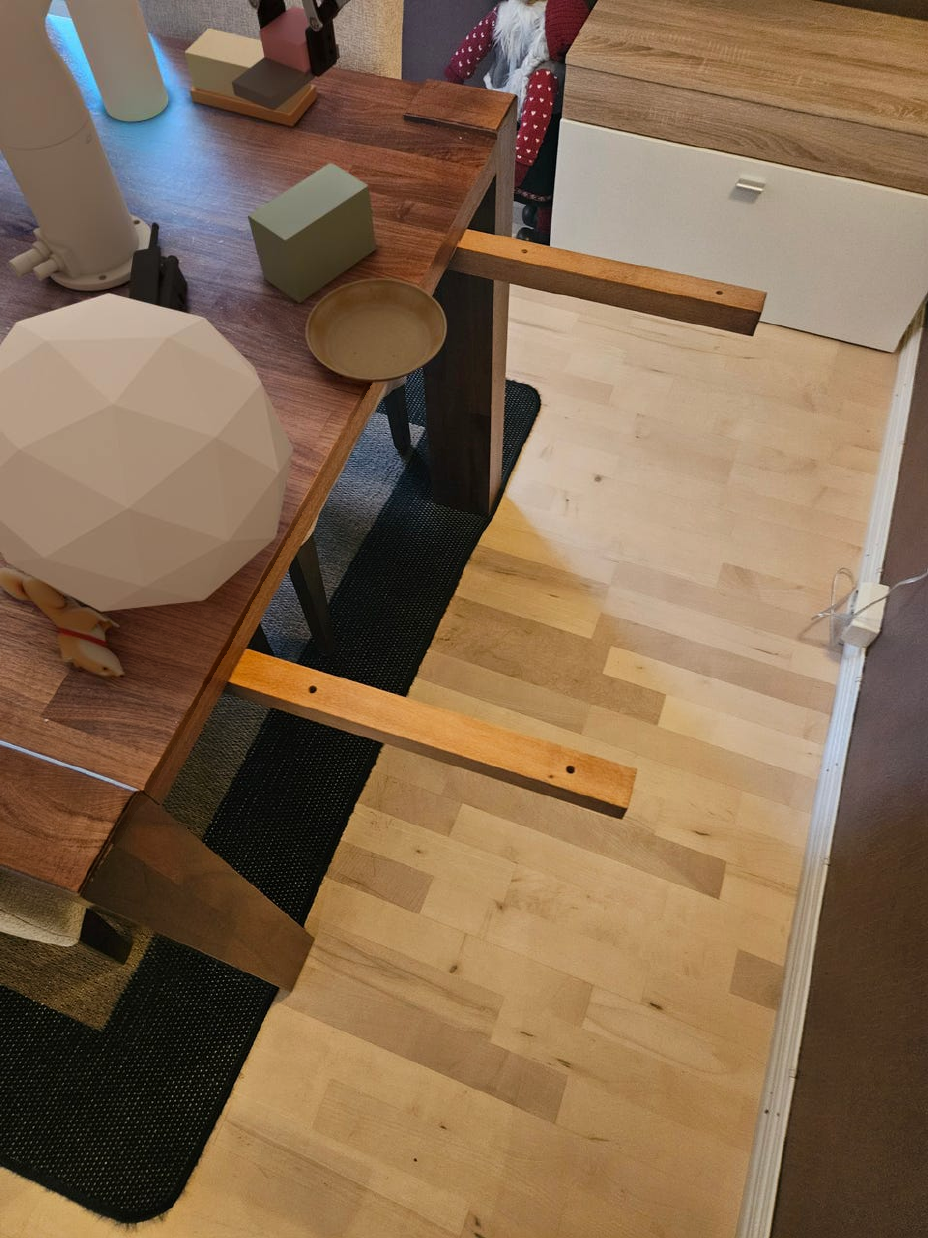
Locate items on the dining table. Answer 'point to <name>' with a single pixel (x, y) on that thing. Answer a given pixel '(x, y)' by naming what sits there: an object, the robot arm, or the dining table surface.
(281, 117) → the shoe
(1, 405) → the geometric shape
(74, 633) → the toy
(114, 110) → the cup
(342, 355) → the plant saucer
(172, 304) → the walkie-talkie
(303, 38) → the grey and pink l-bracket
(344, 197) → the rectangular block
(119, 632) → the dining table surface
